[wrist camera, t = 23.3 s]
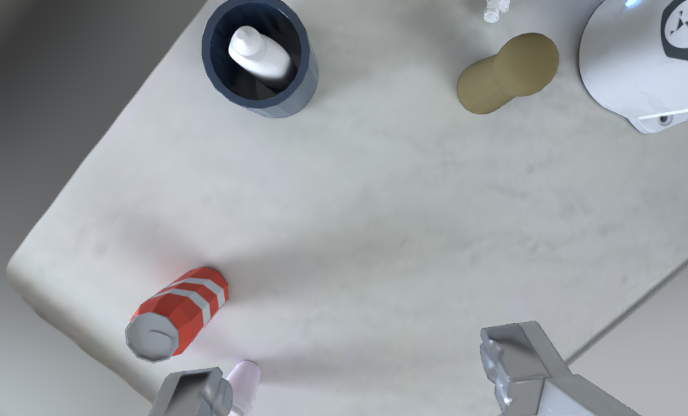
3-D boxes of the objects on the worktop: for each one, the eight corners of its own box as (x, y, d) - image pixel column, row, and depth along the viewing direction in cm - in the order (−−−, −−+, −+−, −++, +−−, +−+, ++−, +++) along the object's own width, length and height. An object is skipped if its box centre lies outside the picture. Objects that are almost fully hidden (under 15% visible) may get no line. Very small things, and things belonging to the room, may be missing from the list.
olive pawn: (492, 49, 37) (550, 5, 26) (518, 94, 38) (585, 69, 27) (447, 80, 38) (485, 49, 27) (473, 124, 39) (521, 111, 28)
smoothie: (214, 369, 44) (152, 465, 31) (249, 342, 44) (201, 428, 30) (246, 402, 45) (199, 510, 31) (280, 376, 44) (247, 475, 31)
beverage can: (224, 316, 43) (175, 376, 31) (178, 300, 43) (112, 354, 31) (237, 275, 42) (191, 321, 30) (190, 259, 42) (126, 299, 30)
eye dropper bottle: (273, 40, 37) (236, -14, 25) (306, 79, 38) (284, 43, 26) (246, 67, 38) (197, 25, 26) (278, 104, 38) (245, 81, 26)
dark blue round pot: (307, 18, 37) (294, -20, 29) (326, 107, 39) (320, 94, 31) (222, 39, 38) (188, 8, 30) (245, 126, 39) (218, 119, 31)
